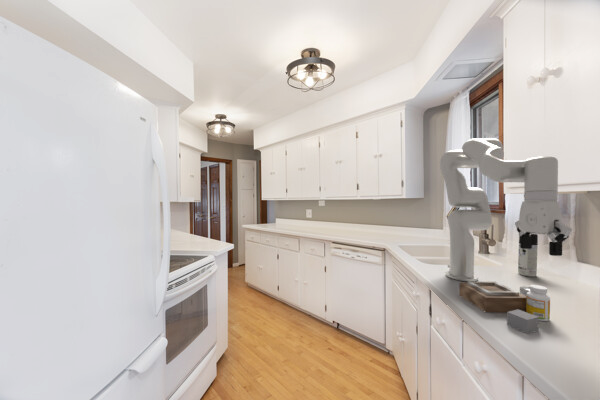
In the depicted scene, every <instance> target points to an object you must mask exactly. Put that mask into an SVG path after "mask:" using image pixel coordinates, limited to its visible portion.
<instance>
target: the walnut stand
mask: <svg viewBox="0 0 600 400" xmlns="http://www.w3.org/2000/svg"><path fill="white" fill-rule="evenodd" d="M458 288H459V291H458V292H459V296H460V297H461V298H463V299H464V300H465V301H467V302H469V303H471V305H473V306H475V307H477V309H480V310H481V311H483V312H484V311H485V312H484V313H486V312H490V314H493V313H494V314H495V313H496V314H499V313H502V314H503V313H505V314H507V312H509V311H513V310H518V309H519V310H521V311H524V312H526V297H527V296H524V295H522V294H520V291H516V290H514V289H512V288H511V287H508V286H505V285H503V284H501V283H499V282H497V281H472V282H468V281H461V282H459V287H458Z"/></svg>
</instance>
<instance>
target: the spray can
mask: <svg viewBox="0 0 600 400" xmlns="http://www.w3.org/2000/svg"><path fill="white" fill-rule="evenodd" d="M538 235H539V234H535V233H532V234H531V235H530V236H529V237H532V248H531V249H522V248H521V247H520V243H521V236H519V235H518V261H517V263H518V265H517V266H518V267H517V272H518V273H517V274H518V275H520V276H523V277H529V278H530V277H531V278H535V277H537V273H538V245H539V244H538V243H539V241H538V240H539V239H538V238H539V236H538Z"/></svg>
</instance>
